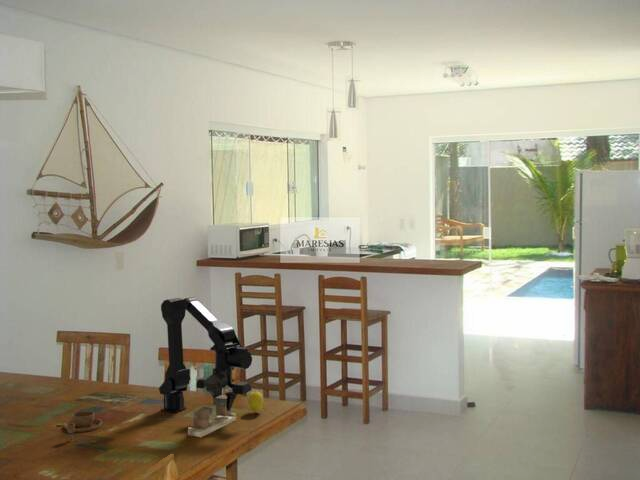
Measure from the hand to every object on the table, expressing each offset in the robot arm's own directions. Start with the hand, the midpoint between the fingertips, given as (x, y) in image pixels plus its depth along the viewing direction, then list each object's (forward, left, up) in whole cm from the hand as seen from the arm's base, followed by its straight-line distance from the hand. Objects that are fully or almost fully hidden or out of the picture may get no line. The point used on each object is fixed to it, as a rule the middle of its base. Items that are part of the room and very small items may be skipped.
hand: (223, 410), depth 257 cm
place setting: (-38, -30, -5) cm, 48 cm away
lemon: (+4, +14, -4) cm, 15 cm away
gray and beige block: (0, 0, -1) cm, 1 cm away
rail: (0, -7, -4) cm, 8 cm away
